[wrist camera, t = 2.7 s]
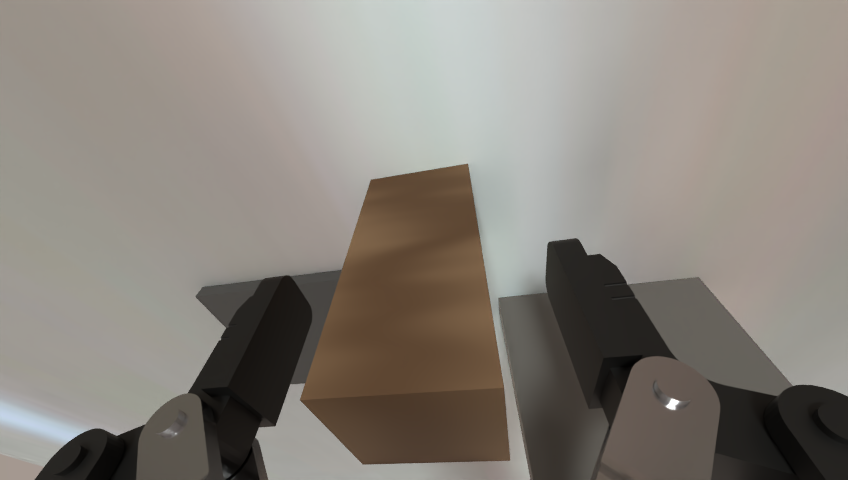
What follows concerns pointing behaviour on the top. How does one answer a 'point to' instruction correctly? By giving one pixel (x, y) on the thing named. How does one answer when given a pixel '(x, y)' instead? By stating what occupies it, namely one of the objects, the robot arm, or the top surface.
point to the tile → (560, 389)
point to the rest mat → (313, 287)
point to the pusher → (412, 331)
